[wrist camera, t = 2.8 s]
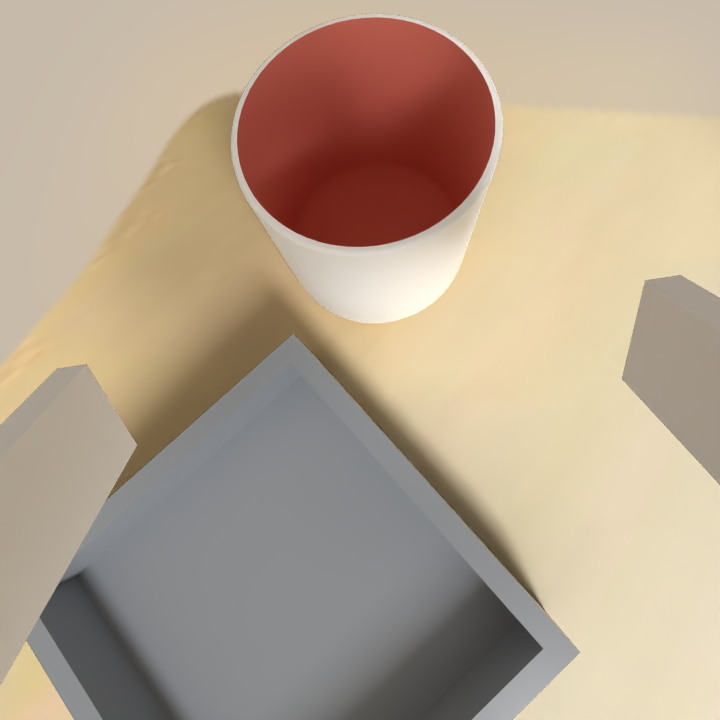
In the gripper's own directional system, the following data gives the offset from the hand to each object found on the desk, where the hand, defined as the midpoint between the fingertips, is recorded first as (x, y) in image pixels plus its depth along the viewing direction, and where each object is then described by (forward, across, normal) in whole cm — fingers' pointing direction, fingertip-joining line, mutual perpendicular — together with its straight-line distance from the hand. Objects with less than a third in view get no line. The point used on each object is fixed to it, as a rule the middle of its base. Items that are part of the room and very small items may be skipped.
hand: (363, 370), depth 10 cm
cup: (+16, +1, -3) cm, 16 cm away
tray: (+3, -6, -15) cm, 17 cm away
